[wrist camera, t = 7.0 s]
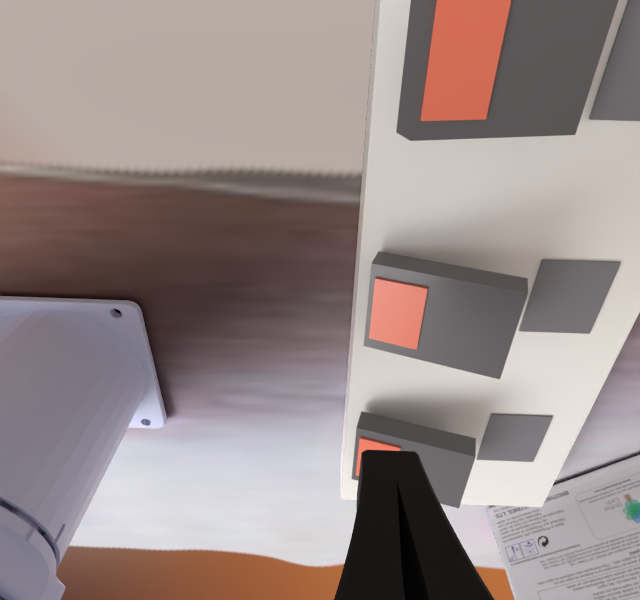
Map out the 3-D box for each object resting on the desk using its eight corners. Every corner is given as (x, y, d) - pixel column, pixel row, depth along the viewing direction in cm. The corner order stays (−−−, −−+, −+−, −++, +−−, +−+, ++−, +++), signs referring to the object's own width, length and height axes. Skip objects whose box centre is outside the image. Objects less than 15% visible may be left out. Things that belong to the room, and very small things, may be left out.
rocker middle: (370, 331, 18) (362, 347, 17) (378, 251, 16) (370, 264, 15) (500, 362, 16) (499, 381, 16) (527, 277, 15) (528, 294, 14)
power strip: (340, 467, 26) (340, 501, 24) (417, -566, 9) (438, -712, 7) (528, 475, 26) (542, 508, 24) (987, -560, 9) (1157, -709, 7)
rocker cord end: (396, 132, 12) (412, 141, 11) (413, -30, 10) (434, -33, 9) (552, 127, 13) (577, 135, 12) (594, -20, 11) (629, -23, 11)
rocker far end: (356, 462, 22) (350, 480, 21) (361, 411, 20) (355, 429, 19) (459, 489, 21) (458, 510, 20) (475, 438, 19) (475, 458, 18)
